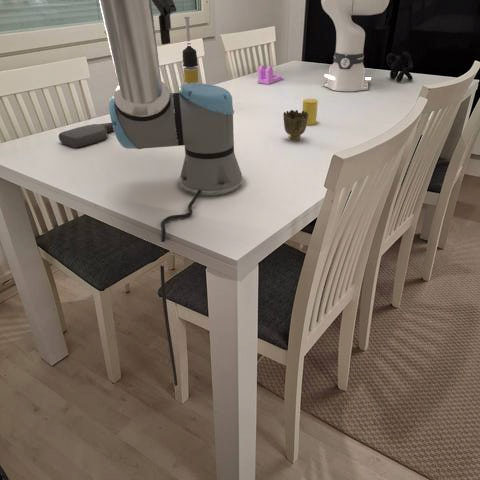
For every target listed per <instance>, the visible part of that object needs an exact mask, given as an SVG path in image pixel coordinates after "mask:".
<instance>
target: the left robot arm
mask: <svg viewBox="0 0 480 480" xmlns="http://www.w3.org/2000/svg"><path fill="white" fill-rule="evenodd" d="M98 1H99V4H100V5H99V6H100V10H101V15H102V19H103V23H104V28H105V31H106V37H107V41H108V45H109V50H110V54H111V58H112V63H113V68H114V71H115V75H116V76H115V77H116V80H117V84H118V86H117V87H116V89H115V90H114V94H113V96H112V97H110V99H109V103H108V105H109V106H108V107H109V108H108V109H109V117H110V121H111V123H112V124H113V133H114V135H115V138H116V141H118V143H119V145H120V146H121V147H123V148H124V149H128V150H130V149H132V150H134V149H135V150H143V149H156V148H168V147H182V146H184V154H185V155H184V158H183V164H182V168H181V171H180V177H179V178H180V179H179V183H180V184H179V185H180V188H181V189H182V191H184V192H186V193H187V194H190V195H194V196H193V197H192V199H191V201H190V202H189V204H188V205H187V211H188V212H186V213H183V214H174V215H173V214H172V215H169V216H166V217H165V218H164V219H162V220H161V222H160V228H161V239H160V241H161V243H164V242H166V225H165V224H166V223H167V222H169V221H171V220H176V219H185V218H188V217H190V216H192V214H193V209H192V207H193V205H194V203H195V202H196V201H197V199H198V197H221V196H224V195H229V194H232V193H234V192H235V191H237V190H239V189H240V188H241V187H242V185H243V174H242V171H241V168H240V165H239V163H238V160H237V157H236V154H235V138H234V137H235V135H234V134H235V133H234V114H235V110H234V104H233V96H232V94H231V92H230V91H229V90H227V89H226V88H224V87H221V86H218V85H215V84H209V83H200V82H199V83H191V84H185V83H184V84H182V85H181V86H179V89H178V92H170V89H169V87H168V86H167V84H166V83H165V82H163V81H162V77H161V69H160V61H159V54H158V44H157V37H156V27H155V21H154V12H153V5H152V3H153V4H154V6H155V7H156V9H157V10H158V12H159V13H160V14H159V15H158V23H159V25H158V26H159V34H160V43H161V45H168V44H171V34H170V30H171V29H172V23H171V15H172V14H173V13H176V12H177V7H176V5H175V4H176V3H175V2H174V0H98ZM159 267H160V269H159V270H160V284H161V285H160V286H161V297H162V307H163V316H164V322H165V328H166V336H167V343H168V348H169V355H170V361H171V369H172V374H173V375H172V376H173V385H174V387H175V386H176V387H177V386H179V383H178V377H177V368H176V361H175V355H174V347H173V342H172V341H173V340H172V334H171V329H170V321H169V313H168V312H169V311H168V303H167V295H166V279H165V266H164V265H161V264H160V265H159Z"/></svg>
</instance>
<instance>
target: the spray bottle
mask: <svg viewBox="0 0 480 480" xmlns="http://www.w3.org/2000/svg"><path fill="white" fill-rule="evenodd" d="M109 132H114V130H113V124H112V122H105V123H104V122H103V123H93V124H87V125H82V126H78V127H75V128H71V129H68V130H64V131H61V132H60V133H59V134H58V139H59V141H60V143H61V144H64V145H67V146H70V147H72V148H80V147H85V146H89V145H92V144H95V143H99V142H101V141H103V140H105V139H106V138H107V136H108V133H109Z"/></svg>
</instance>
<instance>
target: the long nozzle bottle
mask: <svg viewBox="0 0 480 480" xmlns="http://www.w3.org/2000/svg"><path fill="white" fill-rule="evenodd" d="M183 18H184V20H185V21H184V22H185V32H186V34H185V35H186V37H185V38H186V42H188V43H186V45H187V46H186V47H185V48H184V49H183V50H182V53H181V54H182V66H183V79H184V84H191V83H200V82H199V68H198V66H199V64H198V55H197V50H196V49H195V48H193V47H192V46H191V44H192V43H189V42H191V34H190V33H191V32H190V19H191V17H190V16H184V17H183Z"/></svg>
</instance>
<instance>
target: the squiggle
mask: <svg viewBox="0 0 480 480" xmlns="http://www.w3.org/2000/svg"><path fill="white" fill-rule="evenodd" d="M401 57H402V59H401ZM391 59H392V60H391ZM393 60H394V61H393ZM385 61H386V64H387V67H390V68H391V70H390V72H389V78H390V79H391V80H395V79H396V81H397V82H399V83H400V82H402V81H403V79H404V76H406V78H407V80H408V81H412V80H413V79H414V77H413V75H412V74H411V73H410V72H409V71H410V70H412V69H413V68H414V64H413V61H412V57H411V54H410V53H409V52H408V51H403V53H402V54H401V55H396V54H394V53H392V52H390V53H387V55H386V57H385ZM406 62H407V65H408V66H407V67H405V66H404V65H405V64H406ZM400 70H401V71H400Z"/></svg>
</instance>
